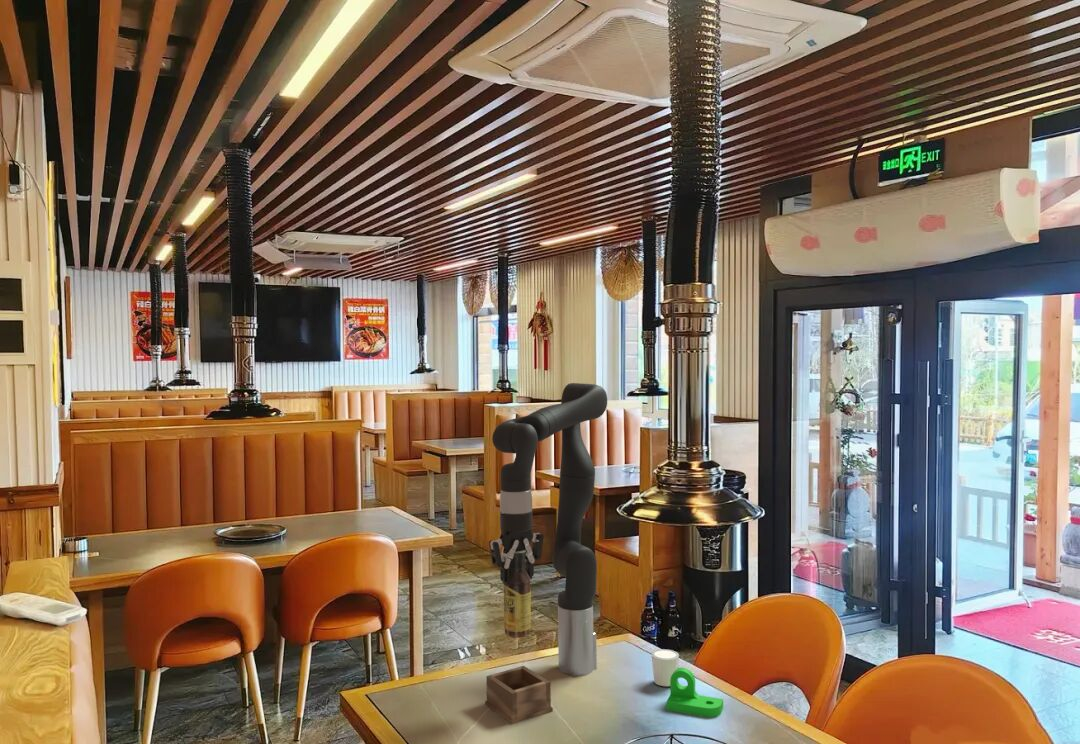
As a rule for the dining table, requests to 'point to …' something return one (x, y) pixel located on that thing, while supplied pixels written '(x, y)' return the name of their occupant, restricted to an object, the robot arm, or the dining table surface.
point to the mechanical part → (691, 697)
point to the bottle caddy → (518, 694)
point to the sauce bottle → (517, 598)
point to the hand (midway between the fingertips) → (517, 580)
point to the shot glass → (664, 665)
